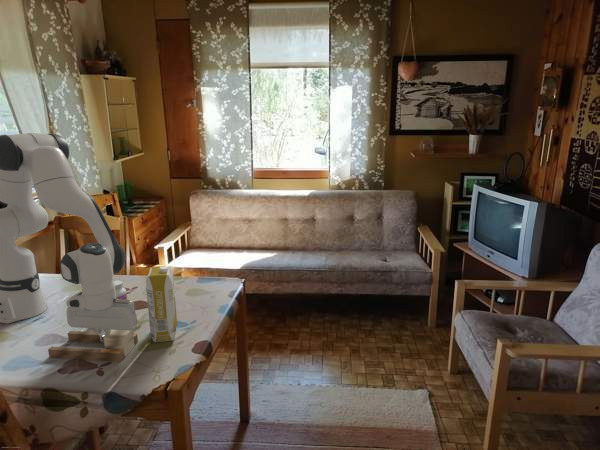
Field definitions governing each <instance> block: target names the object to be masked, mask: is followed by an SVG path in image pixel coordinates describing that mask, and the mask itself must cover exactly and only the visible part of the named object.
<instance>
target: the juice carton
mask: <svg viewBox="0 0 600 450" xmlns="http://www.w3.org/2000/svg"><path fill="white" fill-rule="evenodd" d="M174 280H175V279H174V274H173V271H172V268H171V266H165V265H163V266H160V267H159V266H158V267H151V268H149V271H148V275H147V276H146V281H145V291H146V301H147V311H148V319H149V322H148V323H149V329H150V330H149V331H150V336H151V339H152V342H153V343H163V342H164V343H165V342H172V341H174V340H175V339H176V338H175V337H176V332H177V326H178V325H177V324H178V318H177V317H178V316H177V314H178V313H177V305H176V292H175V281H174Z"/></svg>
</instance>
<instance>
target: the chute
mask: <svg viewBox="0 0 600 450" xmlns="http://www.w3.org/2000/svg"><path fill="white" fill-rule="evenodd" d="M133 335H134V344H135V346H136V345H137V344H138V343H139V338H138V333H133ZM67 338H68V342H74V343H75V342H76V343H77V342H78V343H97V344H104V341H100V336H99V335H98V334H97V333H96V331H84V330H83V331H79V330H70V331H68V332H67ZM47 352H48V357H49V359H67V360H80V361H81V360H82V361H97V362H98V361H100V362H116V363H117V362H119V363H121V362H123V360H124V357H123V351H122V350H115V349H105V348H101V349H100V348H86V347H85V348H83V347H82V348H81V347H70V346H69V347H66V346H50V347H49V348H48V349H47Z"/></svg>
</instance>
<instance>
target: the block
mask: <svg viewBox="0 0 600 450" xmlns="http://www.w3.org/2000/svg"><path fill="white" fill-rule="evenodd" d="M133 334H134V328H133V329H132V330H131V331H127V330H111V331H110V332H109V333H108V334H107V335H106V336H105V337H104V343H103V344H104V349H115V350H122V351H123V358H126V357H127V356H128V355H129V353H131V351H132V350H133V349H134V348H135V346H136V345H135V344H134V335H133Z"/></svg>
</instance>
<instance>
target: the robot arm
mask: <svg viewBox="0 0 600 450" xmlns="http://www.w3.org/2000/svg"><path fill="white" fill-rule="evenodd" d="M69 148H70V147H69V145H68V142H67V141H66V139H65V138H64V137H62V136H61V135H59V134H54V133H38V132H37V133H34V132H33V133H32V132H31V133H30V132H27V133H16V134H8V135H7V134H1V135H0V202H1V203H4V204H6V205H7V206H6V207H3V208H0V323H2V324H11V323H14V322H17V321H21V320H22V321H23V320H26V319H30V318H34V317H35V316H39V315H41V314H42V313H44V312H46V311H47V309H48V308H49V307H48V304H47V302H46V300H45V298H44V295H43V292H42V290H41V287H40V286H41V285H40V283H41V282H40V281H41V280H40V277H39V276H40V275H39V272H38V271H37V266H36V261H35V254H34V253H33V252H32V250H30V249H29V248H27V247H22V246H17V244H16V241H15V240H16V239H18V238H22V237H26V236H30V235H34V234H36V233H38V232H40V231H43V230H44V229H46V228H47V227H48V224H49V220H50V218H49V214H48V212H47V209H49V210H51V211H53V212H56V213H61V214H65V215H66V214H67V215H72V216H76V217H80V218H82V219H83V220H84V221H85V222H86V223H87V225H88V226H89V228H90V230H91V232H92V234H93V235H94V237H95V239H96V241H97V242H89V243H84V244H83V245H81V246H79V248H78V249H76V250H73V251H70V252H67V253H64V255H63V256H62V257H61V260H60V261H59V269H60V270H59V271H60V273H61V278H62V279H63V280H65V281H67V282H69V283H70V284H73V285H81V288H82V289H81V291H79V292H77V293H75V294H74V295H72V296H71V297H70V298H68V299H67V300H66V301H65V303H66V306H67V308H66V321H67V324H68V326H69V327H70V328H79V329H80V328H81V329H93V330H94V332H96V333H97V334H98V335H99V336H100V341H104V337H105V336H106V335H107V334H108V333H109V332H110V331H111V330H127V331H131V330H132V329H133V330H134V329H135V328H136V326H137V325H138V323H139V322H138V317H137V313H136V305H135V303H134V302H133V301H131V300H130V299H128V298H127V299H126V300H122V299H116V291H115V284H114V282H113V281H114V280H113V279H114V275H115V274H119V273H120V271H122V269H123V268H124V266H125V264H126V253H125V251H124V249H123V248H122V246H121V245H120V243H119V242H118V240H117V239H116V237H115V235H114V233H113V232H112V230H111V228H110V226H109V223H108V222H107V220H106V218H105V216H104V215H103V214H104V213H103V212H102V210H101V208H100V207H99V205H98V203H97V202H96V201H95V199H94V197H93V196H92V195H89V194H87V193H85V192H84V191H83V189H82V188H81V187H80V185H79V184H78V182H77V180H76V177H75V174H74V171H73V169H72V167H71V164H70V163H69V157H70V149H69ZM33 187H34V190H35V193H36V195H37V198H38V200H39V202H40V204H38V203H37V202H35V199H34V196H33ZM42 205H43V206H42ZM45 208H47V209H45Z"/></svg>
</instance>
